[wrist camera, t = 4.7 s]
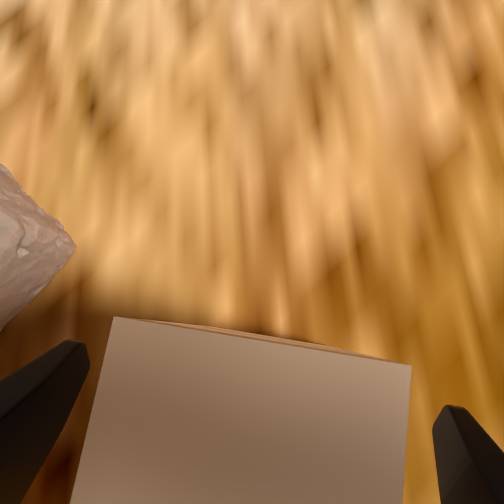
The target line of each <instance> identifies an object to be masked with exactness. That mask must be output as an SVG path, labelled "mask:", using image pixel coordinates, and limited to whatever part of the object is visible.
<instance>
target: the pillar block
mask: <svg viewBox="0 0 504 504" xmlns="http://www.w3.org/2000/svg"><path fill="white" fill-rule="evenodd" d="M411 367H412V366H411V365H406V364H402V363H398V362H394V361H390V360H385V359H381V358H377V357H373V356H369V355H364V354H360V353H356V352H352V351H348V350H344V349H339V348H335V347H331V346H327V345H321V344H315V343H309V342H303V341H297V340H291V339H285V338H279V337H273V336H267V335H261V334H255V333H248V332H242V331H236V330H230V329H224V328H218V327H212V326H203V325H193V324H184V323H174V322H164V321H155V320H145V319H135V318H126V317H116V316H114V317H113V322H112V326H111V330H110V334H109V339H108V343H107V347H106V352H105V356H104V360H103V364H102V369H101V373H100V377H99V381H98V386H97V390H96V394H95V398H94V403H93V407H92V411H91V416H90V420H89V424H88V428H87V433H86V437H85V441H84V445H83V450H82V454H81V458H80V462H79V467H78V471H77V475H76V480H75V484H74V488H73V492H72V497H71V501H70V504H402V500H403V485H404V470H405V455H406V441H407V426H408V411H409V396H410V382H411Z"/></svg>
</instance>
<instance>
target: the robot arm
mask: <svg viewBox="0 0 504 504" xmlns="http://www.w3.org/2000/svg"><path fill="white" fill-rule="evenodd" d="M89 367H90V361H89V357H88V353H87V349H86V345H85V343H84V342H83V341H78V340H72V339H68V340H65V341H64V342H62V343H60V344H59V345H57V346H55V347H54V348H52V349H51V350H49V351H47V352H46V353H44V354H43V355H41V356H39V357H38V358H36V359H35V360H33V361H31V362H30V363H28V364H26V365H25V366H23V367H22V368H20V369H18V370H17V371H15V372H14V373H12V374H10V375H9V376H7V377H5V378H4V379H2V380H1V381H0V504H20V503H21V502H22V500H23V498H24V496H25V495H26V493H27V491H28V489H29V488H30V486H31V484H32V482H33V481H34V479H35V477H36V475H37V473H38V472H39V470H40V468H41V466H42V465H43V463H44V461H45V459H46V458H47V456H48V454H49V452H50V451H51V449H52V447H53V445H54V444H55V442H56V440H57V438H58V436H59V435H60V433H61V431H62V429H63V427H64V425H65V423H66V421H67V419H68V416H69V414H70V412H71V410H72V407H73V405H74V403H75V401H76V398H77V396H78V394H79V392H80V389H81V387H82V385H83V383H84V380H85V378H86V376H87V374H88V371H89ZM432 435H433V443H434V452H435V460H436V469H437V477H438V486H439V493H440V500H441V504H504V452H503V451H502V450H501V449H500V448H499V446H498V445H497V444H496V443H495V442H494V441H493V440H492V438H491V437H490V436H489V435H488V434H487V433H486V431H485V430H484V429H483V428H482V427H481V426H480V424H479V423H478V422H477V421H476V420H475V419H474V417H473V416H472V415H471V414H470V413H469V412H468V411H467V410H466V409H465V408H463V407H459V406H454V405H445V406H444V407H443V409H442V410H441V412H440V414H439V415H438V417H437V419H436V420H435V422H434V424H433V429H432Z"/></svg>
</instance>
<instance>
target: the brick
mask: <svg viewBox="0 0 504 504" xmlns="http://www.w3.org/2000/svg"><path fill="white" fill-rule="evenodd" d="M75 247H76V245H75V243H74V242H73V240H72V238H71V236H70V235H69V234H68V233H66V232H65V231H64V229H63V225H62V224H61V223H60V221H59V220H57V219H55V218H53V217H51V215H49V214H46V213H45V211H44V209H42V208H40V207H38V205H37V204H36V203H35V201H34V200H33V199H32V198H31V197H30V196H28V195H27V194H26V193H25V192H23V190H22V187H21V186H20V185H19V183H17V182H16V181H15V180H14V177H13V176H12V174H11V173H10V171H9V170H8V169H7V168H6V167H5V166H3V165H2V164H0V331H1V330H2V329H3V328H4V327H5V325H6V324H7V323H8V322H9V321H10V320H11V319H12V318H14V317H15V316H16V315H17V314H19V313H20V312H21V311H22V310H23V309H24V308H25V307H26V306H27V304H28V303H30V302H31V301H32V300H33V299H34V298H35V297H36V295H37V294H38V293H39V292H40V291H41V290H42V289H43V288H44V287H45V286H46V285H47V284H48V282H49V281H50V280H51V278H52V277H53V276H54V275H55V274H56V273H57V272H58V271H59V270H60V269H61V268H62V267H63V266H64V264H65V263H66V262H67V261H68V259H69V258H70V257H71V256H72V254H73V252H74V249H75Z"/></svg>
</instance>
